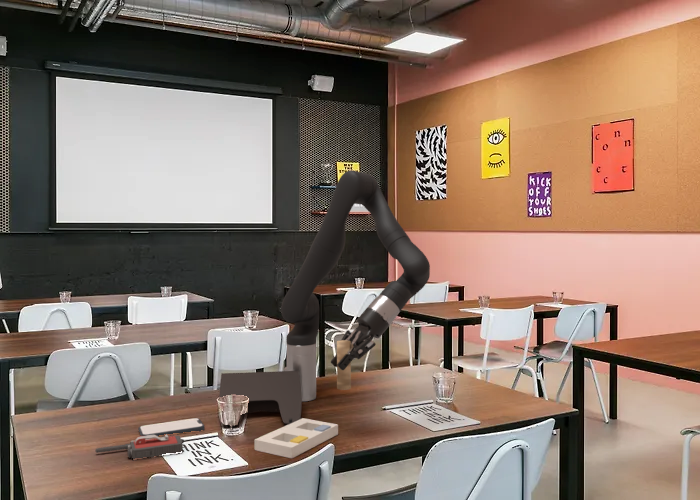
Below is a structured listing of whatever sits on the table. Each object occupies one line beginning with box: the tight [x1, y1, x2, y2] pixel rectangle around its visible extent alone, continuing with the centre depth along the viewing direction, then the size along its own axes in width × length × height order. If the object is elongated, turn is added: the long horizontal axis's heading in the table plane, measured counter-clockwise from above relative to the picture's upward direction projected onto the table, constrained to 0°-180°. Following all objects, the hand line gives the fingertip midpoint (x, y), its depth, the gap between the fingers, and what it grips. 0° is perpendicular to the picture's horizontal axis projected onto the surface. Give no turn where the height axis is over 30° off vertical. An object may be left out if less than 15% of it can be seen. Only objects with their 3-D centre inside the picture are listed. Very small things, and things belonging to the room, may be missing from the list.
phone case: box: [138, 417, 206, 436], centre depth 164 cm, size 9×2×16 cm
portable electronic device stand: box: [218, 370, 303, 425], centre depth 176 cm, size 23×23×9 cm
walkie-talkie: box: [94, 434, 185, 459], centre depth 147 cm, size 9×4×20 cm
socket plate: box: [254, 417, 339, 459], centre depth 154 cm, size 20×11×3 cm, turn 149°
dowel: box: [336, 339, 352, 391], centre depth 159 cm, size 4×4×12 cm
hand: (336, 366), depth 159 cm, fingers closed on dowel, 3 cm apart
